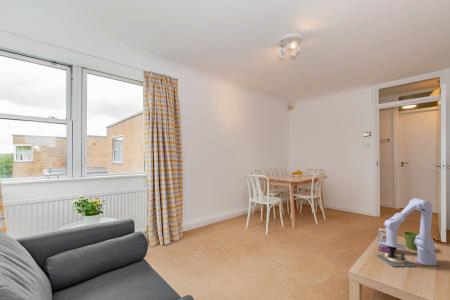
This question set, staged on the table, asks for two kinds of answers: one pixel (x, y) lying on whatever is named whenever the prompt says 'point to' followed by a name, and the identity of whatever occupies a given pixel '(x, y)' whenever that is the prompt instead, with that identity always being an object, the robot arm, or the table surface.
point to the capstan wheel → (396, 258)
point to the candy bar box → (383, 239)
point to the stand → (396, 263)
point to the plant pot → (410, 239)
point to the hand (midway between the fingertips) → (392, 257)
